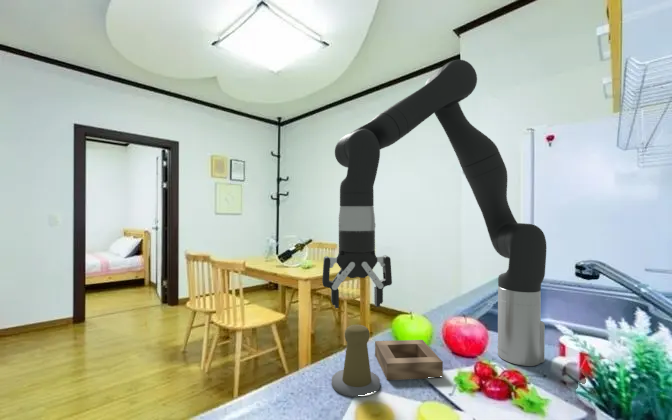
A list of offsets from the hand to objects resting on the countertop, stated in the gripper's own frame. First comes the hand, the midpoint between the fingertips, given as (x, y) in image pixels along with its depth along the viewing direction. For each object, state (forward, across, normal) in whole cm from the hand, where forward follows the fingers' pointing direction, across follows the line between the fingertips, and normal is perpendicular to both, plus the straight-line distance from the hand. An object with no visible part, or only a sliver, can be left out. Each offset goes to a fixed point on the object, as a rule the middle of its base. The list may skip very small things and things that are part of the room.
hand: (356, 306), depth 68 cm
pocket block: (+16, -13, -7) cm, 22 cm away
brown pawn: (+15, 0, 0) cm, 15 cm away
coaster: (+16, 0, 0) cm, 16 cm away
